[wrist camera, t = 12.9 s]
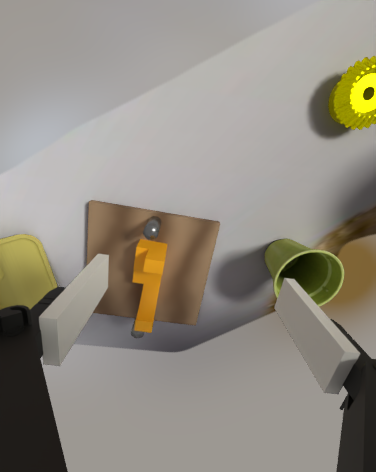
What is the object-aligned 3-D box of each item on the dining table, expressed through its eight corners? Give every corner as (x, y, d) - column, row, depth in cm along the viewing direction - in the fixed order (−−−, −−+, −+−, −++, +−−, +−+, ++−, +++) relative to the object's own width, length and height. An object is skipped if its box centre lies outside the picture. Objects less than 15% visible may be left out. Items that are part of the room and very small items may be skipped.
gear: (315, 83, 29) (328, 142, 32) (333, 72, 26) (346, 139, 28) (375, 52, 28) (383, 115, 31) (402, 37, 25) (410, 110, 27)
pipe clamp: (140, 238, 34) (131, 256, 28) (167, 243, 35) (164, 262, 29) (131, 301, 38) (122, 328, 32) (156, 305, 39) (151, 332, 32)
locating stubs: (162, 217, 33) (159, 227, 28) (147, 317, 39) (143, 338, 35) (149, 215, 33) (144, 224, 28) (136, 315, 39) (130, 337, 34)
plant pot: (285, 287, 40) (312, 320, 31) (243, 264, 38) (260, 293, 30) (319, 245, 37) (359, 270, 29) (276, 219, 35) (305, 237, 27)
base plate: (218, 221, 35) (220, 223, 34) (195, 320, 41) (195, 325, 40) (91, 200, 33) (88, 201, 32) (88, 307, 40) (85, 311, 39)
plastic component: (-55, 248, 33) (-23, 246, 28) (3, 232, 39) (36, 229, 35) (0, 356, 38) (34, 370, 33) (43, 327, 45) (76, 335, 40)
